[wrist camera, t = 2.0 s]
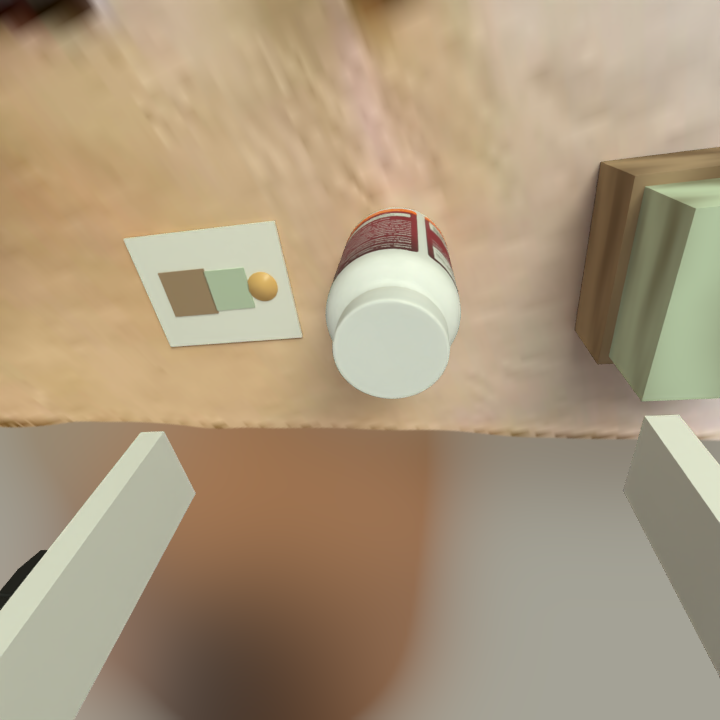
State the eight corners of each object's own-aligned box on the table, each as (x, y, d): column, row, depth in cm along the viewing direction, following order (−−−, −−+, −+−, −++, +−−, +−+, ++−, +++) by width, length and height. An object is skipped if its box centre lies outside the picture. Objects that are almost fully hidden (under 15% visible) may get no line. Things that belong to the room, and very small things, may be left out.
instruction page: (172, 345, 31) (170, 347, 31) (125, 238, 27) (122, 239, 26) (302, 336, 29) (301, 338, 29) (275, 220, 25) (273, 221, 25)
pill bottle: (332, 281, 27) (292, 383, 18) (367, 187, 24) (340, 252, 15) (420, 316, 28) (425, 431, 19) (466, 229, 24) (500, 317, 15)
